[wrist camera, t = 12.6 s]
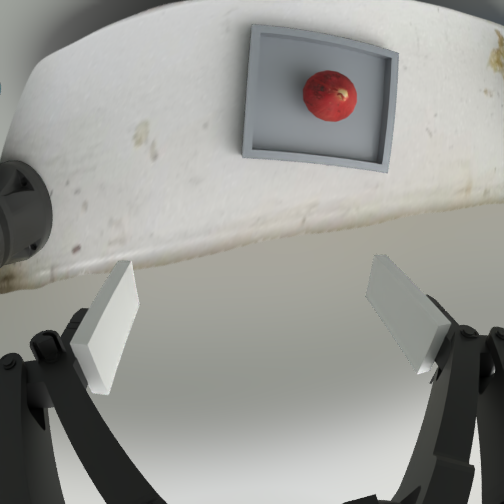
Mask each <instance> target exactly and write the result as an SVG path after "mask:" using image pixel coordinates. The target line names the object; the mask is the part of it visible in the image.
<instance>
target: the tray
mask: <svg viewBox="0 0 504 504" xmlns="http://www.w3.org/2000/svg"><path fill="white" fill-rule="evenodd" d="M398 61H399V53H397V52H394V51H391V50H388V49H384V48H381V47H378V46H374V45H371V44H367V43H363V42H359V41H355V40H351V39H347V38H342V37H338V36H333V35H328V34H323V33H318V32H312V31H306V30H300V29H293V28H286V27H277V26H268V25H257V24H252V28H251V36H250V48H249V61H248V74H247V87H246V101H245V115H244V129H243V144H242V158H253V159H268V160H281V161H293V162H304V163H314V164H323V165H331V166H340V167H348V168H355V169H362V170H369V171H376V172H382V173H388V169H389V162H390V155H391V147H392V139H393V130H394V120H395V110H396V98H397V83H398ZM326 70H330V71H336V72H339V73H341V74H343V75H345V76H347V77H348V78H349V79H350V81H351V82H352V83H353V84H354V87H355V89H356V92H357V103H356V105H355V108H354V111H353V112H352V113H351V114H350V115H349V116H348V117H347V118H345V119H343V120H340V121H338V122H329V121H324V120H322V119H319V118H317V117H315V116H314V115H313V114H312V113H311V112H310V111H309V110H308V108H307V106H306V105H305V103H304V101H303V88H304V86H305V84H306V82H307V80H308V79H309V78H310V77H311V76H313V75H314V74H315V73H317V72H321V71H326Z"/></svg>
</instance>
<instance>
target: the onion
mask: <svg viewBox="0 0 504 504" xmlns="http://www.w3.org/2000/svg"><path fill="white" fill-rule="evenodd" d="M303 101H304V103H305V105H306V106H307V108H308V110H309V111H310V112H311V113H312V114H313V115H314V116H315V117H317V118H319V119H322V120H324V121H329V122H338V121H340V120H343V119H345V118H347V117H348V116H349V115H350V114H351V113H352V112H353V111H354V108H355V105H356V103H357V92H356V89H355V87H354V84H353V83H352V82H351V81H350V79H349V78H348V77H347V76H345V75H343V74H341V73H339V72H336V71H330V70H326V71H321V72H317V73H315V74H314V75H313V76H311V77H310V78H309V79H308V80H307V82H306V84H305V86H304V88H303Z"/></svg>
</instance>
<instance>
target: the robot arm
mask: <svg viewBox="0 0 504 504" xmlns="http://www.w3.org/2000/svg"><path fill="white" fill-rule="evenodd" d="M0 93H1V84H0ZM51 228H52V206H51V201H50V197H49V194H48V191H47V189H46V186H45V184H44V183H43V181H42V179H41V178H40V176H39V175H38V174H37V173H36V171H35V170H34V169H33V168H31V167H30V166H29V165H27V164H25V163H23V162H20V161H7V162H4V163H1V164H0V268H1V267H2V266H3V265H7V264H11V263H15V262H20V261H24V260H27V259H29V258H31V257H32V256H34V255H35V254H36V253H37V252H38V251H39V250H41V249H42V248H43V246H44V245H45V244H46V242H47V240H48V238H49V235H50V232H51ZM365 297H366V298H367V300H368V301H369V302H370V304H371V305H372V306H373V308H374V310H375V311H376V313H377V314H378V315H379V317H380V318H381V320H382V321H383V323H384V324H385V326H386V327H387V329H388V330H389V332H390V333H391V335H392V336H393V338H394V339H395V341H396V342H397V344H398V345H399V347H400V348H401V350H402V351H403V353H404V354H405V356H406V357H407V359H408V361H409V362H410V364H411V365H412V367H413V368H414V370H415V372H416V373H417V374H419V373H423V372H427V371H430V369H431V367H432V365H433V363H434V361H435V362H436V363H437V365H438V368H437V370H436V372H435V374H434V376H433V378H432V379H431V381H430V384H431V383H432V382H433V385H432V389H431V394H430V398H429V401H428V405H427V409H426V413H425V416H424V420H423V423H422V426H421V430H420V433H419V436H418V440H417V442H416V445H415V448H414V451H413V454H412V457H411V459H410V462H409V465H408V467H407V470H406V473H405V475H404V478H403V480H402V483H401V485H400V487H399V489H398V491H397V492H396V494H395V495H394V497H393V498H392V500H391V501H387V500H377V497H376V494H375V495H371V496H367V497H364V498H360V499H357V500H352V501H348V502H345V503H343V504H467V502H468V499H469V495H470V491H471V487H472V482H473V478H474V472H475V468H474V465H470V464H469V458H470V453H471V447H472V442H473V436H474V428H475V420H476V417H477V424H478V433H479V443H480V454H481V455H480V456H481V475H482V504H504V328H500V327H493V328H492V329H491V331H490V333H489V335H488V336H487V335H479V334H478V332H477V331H476V330H475V329H473V328H472V327H470V326H467V325H459V324H458V323H457V322H456V321H455V320H454V319H453V318H452V317H451V316H450V315H449V313H447V311H445V309H444V308H443V307H441V305H440V304H439V303H438V302H437V301H436V300H435V299H434V298H432V297H431V296H429V295H425V294H424V293H423V292H422V291H421V290H420V289H419V288H418V287H417V286H416V285H415V283H414V282H413V281H412V280H411V279H410V278H409V277H408V276H407V275H406V274H405V273H404V272H403V271H402V270H401V269H400V268H399V267H398V266H397V265H396V264H395V263H394V262H393V261H392V260H391V259H390V258H389V257H388V256H387V255H374V258H373V264H372V269H371V273H370V278H369V284H368V288H367V292H366V296H365ZM139 305H140V304H139V299H138V294H137V289H136V283H135V278H134V272H133V266H132V261H118V262H117V263H116V265H115V267H114V268H113V270H112V271H111V273H110V275H109V276H108V278H107V280H106V281H105V283H104V284H103V286H102V288H101V289H100V291H99V293H98V294H97V296H96V298H95V299H94V301H93V303H92V304H91V306H90V308H82V309H80V310H79V311H78V312H76V313H75V314H74V315H73V317H72V319H71V320H70V323H68V325H67V327H66V329H65V330H64V332H63V334H62V335H61V337H60V336H59V334H58V333H57V332H56V331H52V330H46V331H42V332H40V333H38V334H36V335H35V336H34V337H33V338H32V339H31V341H30V348H31V350H32V352H33V354H34V357H35V358H36V360H34V361H27V362H24V361H23V359H22V357H21V356H20V355H19V354H17V353H9V354H6V355H4V356H3V357H2V358H1V359H0V504H65V501H64V498H63V494H62V490H61V486H60V481H59V477H58V472H57V468H56V462H55V457H54V452H53V446H52V439H51V433H50V425H49V416H48V408H51V407H55V410H56V412H57V414H58V417H59V419H60V421H61V423H62V425H63V427H64V430H65V431H66V434H67V435H68V438H69V440H70V442H71V444H72V446H73V448H74V450H75V451H76V453H77V455H78V457H79V459H80V461H81V462H82V464H83V466H84V468H85V470H86V471H87V473H88V475H89V477H90V478H91V480H92V482H93V483H94V485H95V486H96V488H97V490H98V491H99V493H100V494H101V496H102V497H103V499H104V500H105V502H106V503H107V504H167V503H166V502H165V501H164V500H163V499H162V498H161V497H160V496H159V495H158V493H156V491H155V490H154V489H153V488H152V486H151V485H150V484H149V483H148V482H147V480H146V479H145V478H144V477H143V475H142V474H141V473H140V471H139V470H138V469H137V468H136V466H135V465H134V464H133V462H132V461H131V460H130V458H129V457H128V455H127V454H126V453H125V451H124V450H123V448H122V447H121V446H120V444H119V443H118V441H117V440H116V438H115V437H114V435H113V434H112V433H111V431H110V430H109V428H108V426H107V425H106V423H105V422H104V420H103V419H102V417H101V415H100V413H99V412H98V410H97V408H96V407H95V405H94V403H93V402H92V400H91V398H90V397H89V395H88V393H87V391H86V388H87V385H89V387H90V389H91V391H92V393H96V394H104V395H109V392H110V389H111V386H112V383H113V380H114V376H115V373H116V370H117V367H118V364H119V361H120V358H121V355H122V352H123V349H124V346H125V343H126V340H127V338H128V335H129V332H130V329H131V326H132V324H133V321H134V318H135V316H136V313H137V310H138V308H139ZM494 371H495V374H494Z"/></svg>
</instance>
